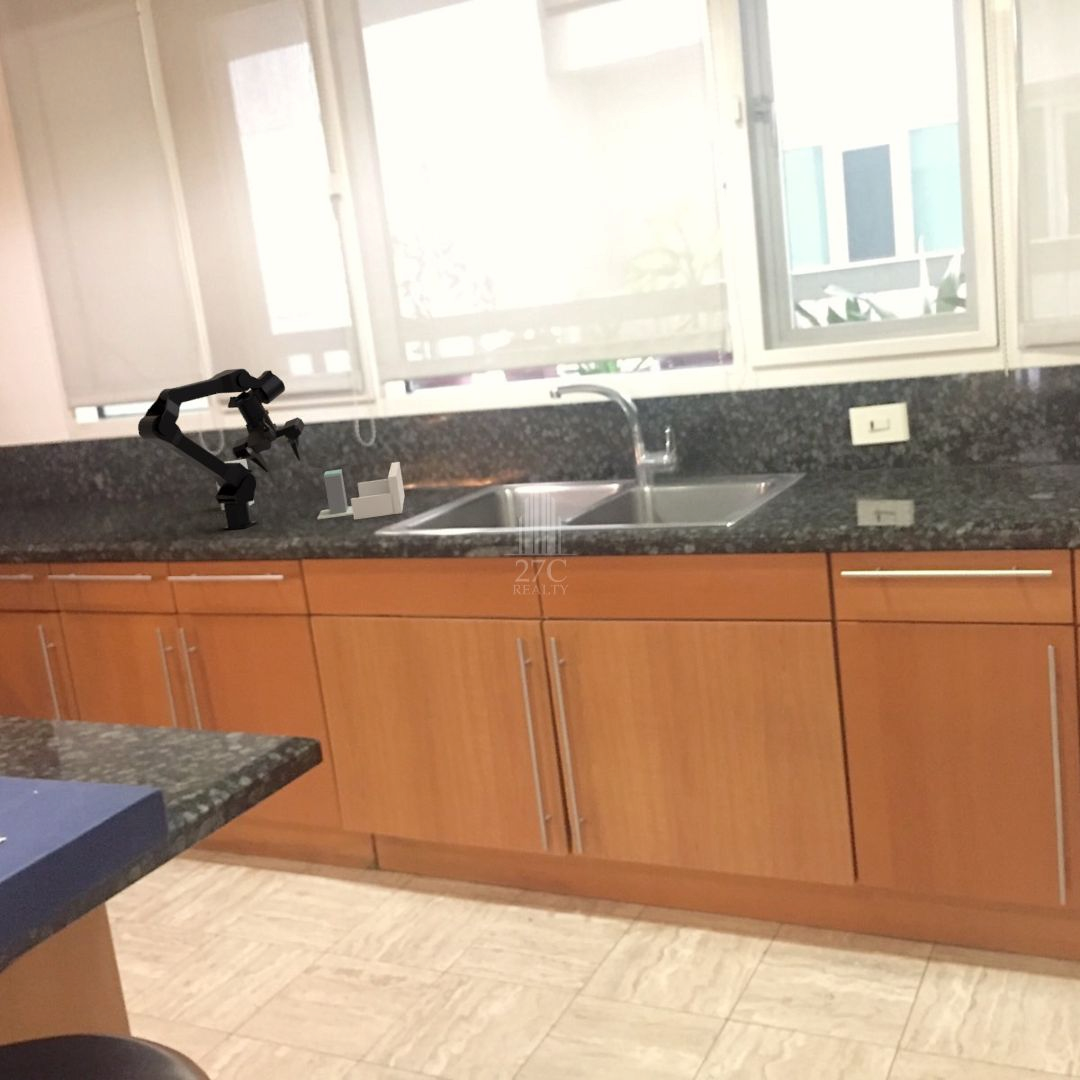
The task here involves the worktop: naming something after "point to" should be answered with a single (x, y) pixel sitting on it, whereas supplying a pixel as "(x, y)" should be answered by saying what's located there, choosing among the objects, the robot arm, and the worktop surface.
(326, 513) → the mat
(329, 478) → the grey teal block
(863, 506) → the worktop surface
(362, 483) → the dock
